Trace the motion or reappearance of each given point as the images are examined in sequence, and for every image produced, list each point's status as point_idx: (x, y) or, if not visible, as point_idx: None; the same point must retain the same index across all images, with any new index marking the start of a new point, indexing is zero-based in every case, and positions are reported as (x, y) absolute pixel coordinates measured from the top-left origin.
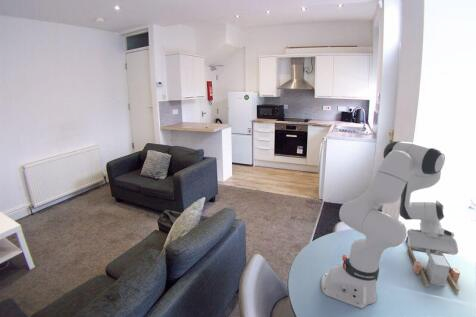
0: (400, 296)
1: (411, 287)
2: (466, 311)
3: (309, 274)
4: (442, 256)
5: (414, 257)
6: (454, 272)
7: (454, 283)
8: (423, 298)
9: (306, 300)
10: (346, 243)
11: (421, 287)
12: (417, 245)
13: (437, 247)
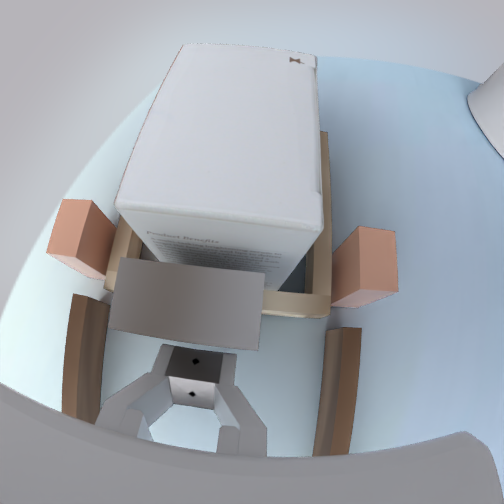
0: (418, 107)
1: (384, 146)
2: None
3: None
4: (137, 190)
5: (341, 416)
6: (93, 203)
7: None
8: (342, 96)
9: None
10: None
11: (339, 150)
12: (418, 458)
13: (96, 468)
